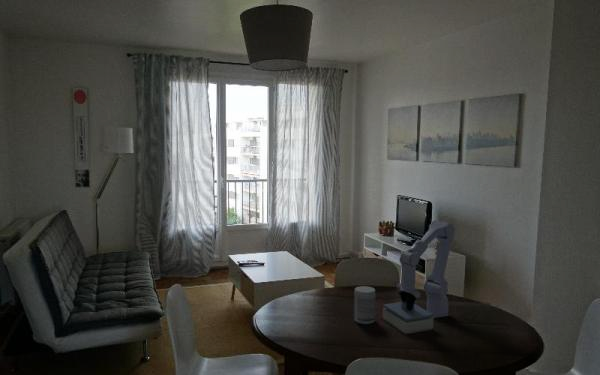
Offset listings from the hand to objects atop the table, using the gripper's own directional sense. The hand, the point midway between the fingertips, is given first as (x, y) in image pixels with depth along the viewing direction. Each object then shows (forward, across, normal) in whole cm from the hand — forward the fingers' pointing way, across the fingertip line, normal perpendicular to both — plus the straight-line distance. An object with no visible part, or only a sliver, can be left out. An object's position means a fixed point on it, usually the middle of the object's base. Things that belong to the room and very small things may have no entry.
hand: (407, 308), depth 201 cm
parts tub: (+7, 0, 0) cm, 7 cm away
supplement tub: (+7, -10, -16) cm, 20 cm away
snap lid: (+1, 0, 0) cm, 1 cm away
